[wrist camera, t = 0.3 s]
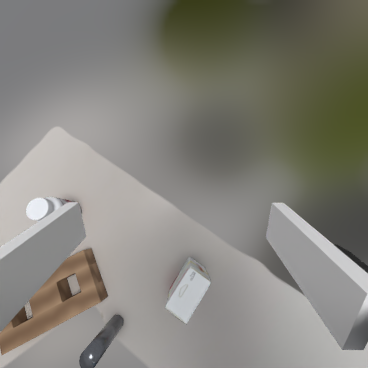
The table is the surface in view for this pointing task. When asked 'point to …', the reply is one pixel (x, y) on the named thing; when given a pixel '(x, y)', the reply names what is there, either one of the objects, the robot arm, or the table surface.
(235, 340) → the table surface
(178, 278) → the ink box
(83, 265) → the socket block
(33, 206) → the pill bottle
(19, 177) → the table surface
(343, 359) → the table surface
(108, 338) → the pin
